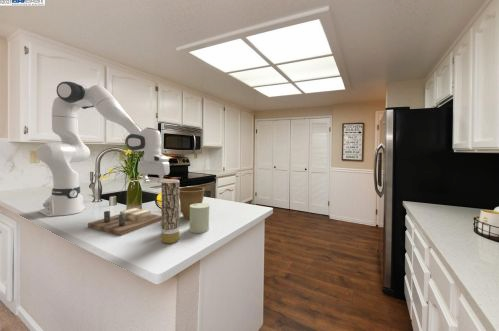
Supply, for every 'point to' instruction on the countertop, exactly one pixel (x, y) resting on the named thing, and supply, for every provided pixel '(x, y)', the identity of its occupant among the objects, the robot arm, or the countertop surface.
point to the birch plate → (136, 214)
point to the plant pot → (190, 198)
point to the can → (199, 217)
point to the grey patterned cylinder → (170, 211)
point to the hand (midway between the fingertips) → (153, 182)
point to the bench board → (125, 228)
